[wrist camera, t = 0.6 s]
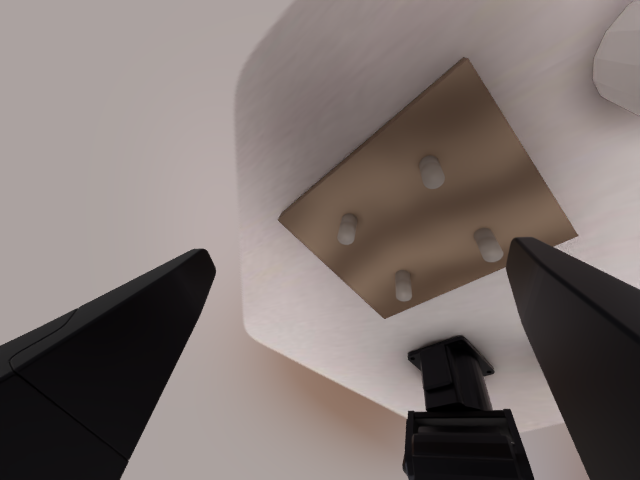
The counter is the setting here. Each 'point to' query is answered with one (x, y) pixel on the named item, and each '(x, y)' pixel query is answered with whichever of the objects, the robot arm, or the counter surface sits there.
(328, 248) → the pin board
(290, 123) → the counter surface
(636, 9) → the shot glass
